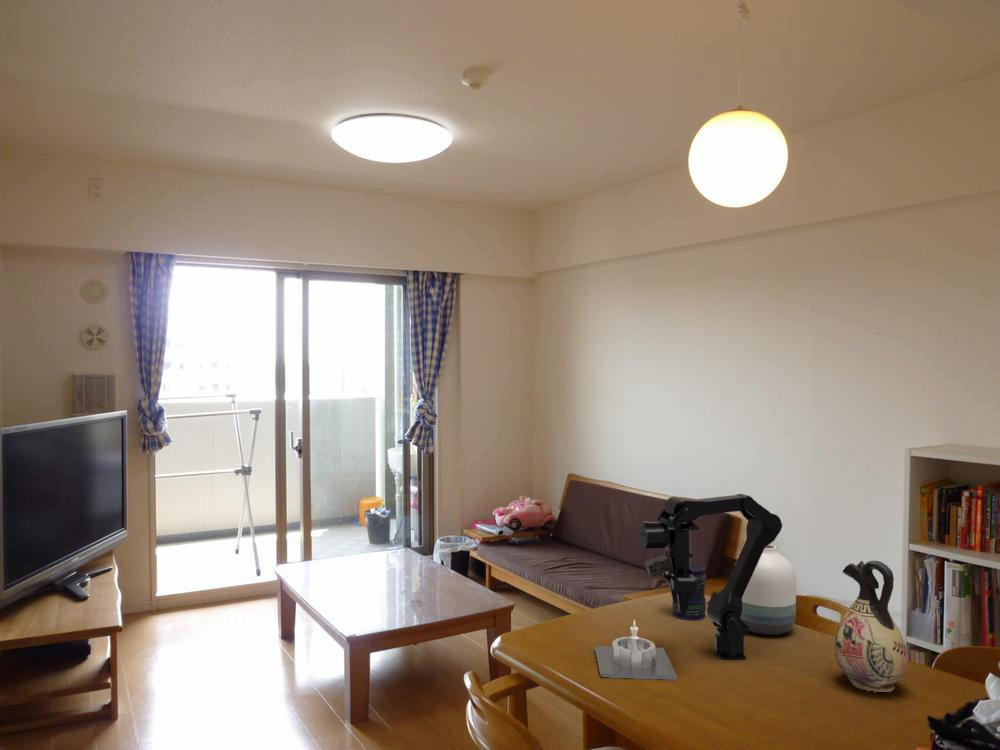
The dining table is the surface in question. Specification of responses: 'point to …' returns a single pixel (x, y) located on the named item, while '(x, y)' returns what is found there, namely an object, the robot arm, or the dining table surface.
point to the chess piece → (634, 636)
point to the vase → (770, 595)
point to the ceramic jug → (870, 633)
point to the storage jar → (698, 602)
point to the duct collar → (634, 660)
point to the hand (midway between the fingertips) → (678, 608)
